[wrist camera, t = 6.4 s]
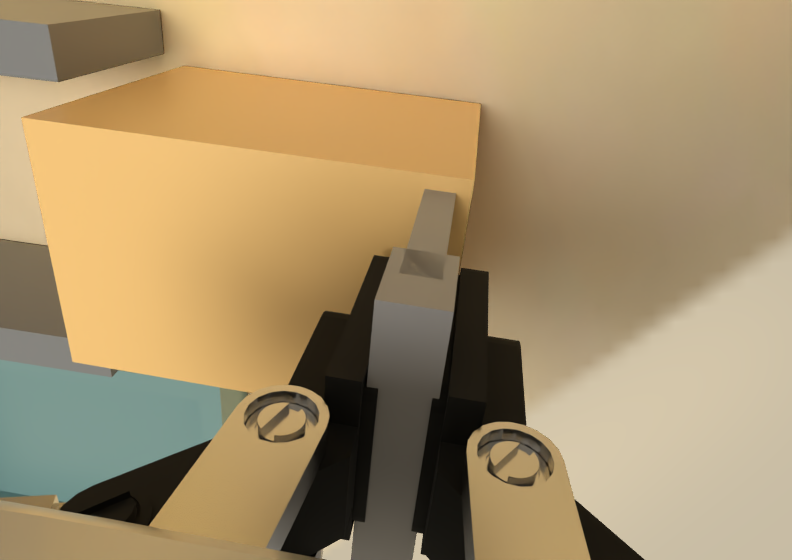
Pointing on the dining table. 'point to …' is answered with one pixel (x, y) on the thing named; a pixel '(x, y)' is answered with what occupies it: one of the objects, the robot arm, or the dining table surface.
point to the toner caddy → (263, 241)
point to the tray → (96, 425)
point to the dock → (57, 61)
